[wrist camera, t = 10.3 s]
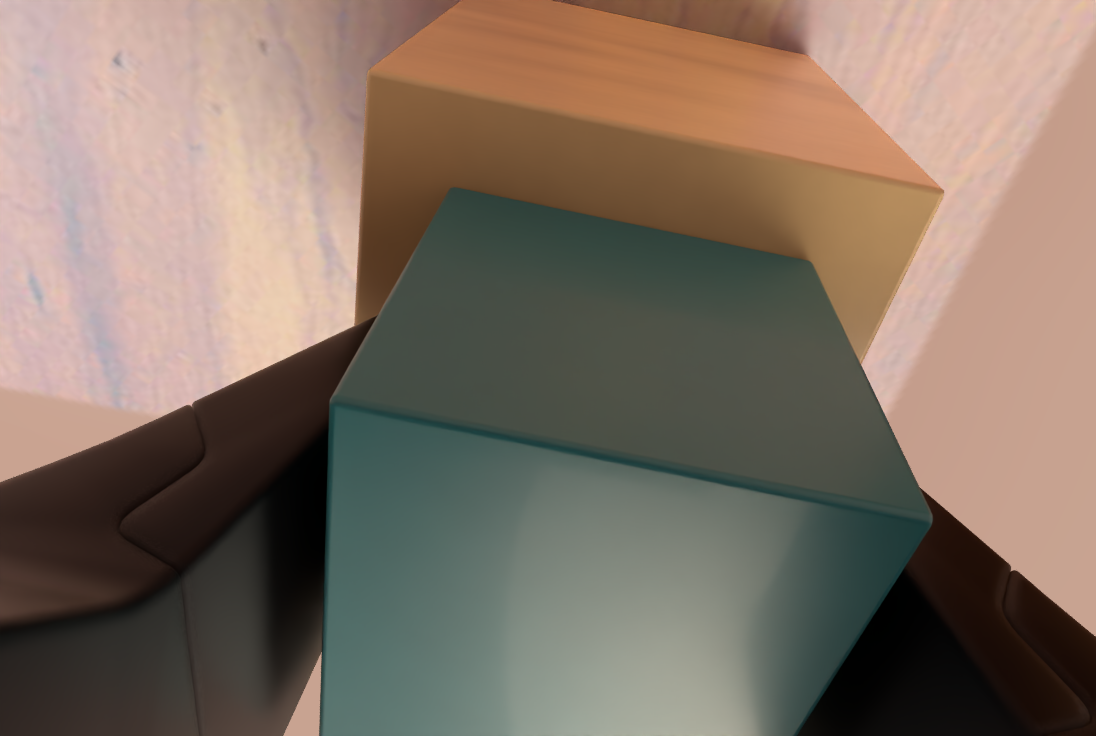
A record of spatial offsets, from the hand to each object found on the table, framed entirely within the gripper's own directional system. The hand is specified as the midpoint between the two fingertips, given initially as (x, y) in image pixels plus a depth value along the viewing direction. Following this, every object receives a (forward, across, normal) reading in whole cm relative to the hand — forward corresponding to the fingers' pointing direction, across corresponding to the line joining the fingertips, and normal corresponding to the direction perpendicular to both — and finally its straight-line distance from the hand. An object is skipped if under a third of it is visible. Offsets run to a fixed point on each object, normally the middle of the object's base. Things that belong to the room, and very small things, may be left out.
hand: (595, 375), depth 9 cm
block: (0, 0, 0) cm, 0 cm away
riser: (+7, 0, 0) cm, 7 cm away
